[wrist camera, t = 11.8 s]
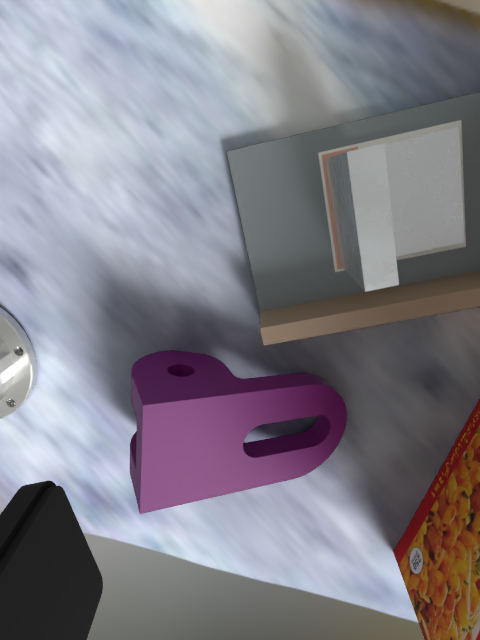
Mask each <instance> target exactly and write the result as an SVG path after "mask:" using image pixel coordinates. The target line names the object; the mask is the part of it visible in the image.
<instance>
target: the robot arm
mask: <svg viewBox="0 0 480 640" xmlns="http://www.w3.org/2000/svg"><path fill="white" fill-rule="evenodd" d="M36 377H37V363H36V356H35V353H34V350H33V347H32V344H31V342H30V340H29V338H28V337H27V335H26V333H25V331H24V330H23V329H22V328H21V326H20V325H19V324H18V323H17V321H16V320H15V319H14V318H13V317H12V316H10V315H9V314H8V313H7V312H6V311H5V310H3V309H2V308H0V419H1V418H4V417H6V416H8V415H10V414H12V413H13V412H14V411H15V410H16V409H18V408H19V407H20V406H21V405H22V404H23V403H24V402H25V401H26V400H27V399H28V397H29V396H30V394H31V392H32V390H33V388H34V385H35V382H36ZM102 588H103V582H102V576H101V574H100V571H99V569H98V566H97V564H96V562H95V560H94V557H93V555H92V553H91V551H90V549H89V546H88V544H87V541H86V539H85V537H84V535H83V532H82V530H81V528H80V526H79V523H78V521H77V519H76V516H75V514H74V512H73V510H72V507H71V505H70V503H69V501H68V498H67V496H66V494H65V491H64V490H63V488H62V487H60V486H56V485H55V483H53V482H52V481H45V482H39V483H34V484H29V485H25V486H22V487H21V488H20V489H19V490H18V491H17V493H16V494H15V495H14V497H13V498H12V500H11V501H10V502H9V504H8V505H7V506H6V508H5V509H4V511H3V512H2V513H1V515H0V640H86V639H87V637H88V634H89V631H90V628H91V625H92V622H93V619H94V615H95V612H96V609H97V606H98V603H99V601H100V598H101V594H102Z"/></svg>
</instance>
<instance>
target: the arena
mask: <svg viewBox="0 0 480 640" xmlns="http://www.w3.org/2000/svg"><path fill="white" fill-rule="evenodd" d="M455 127H459V140H460V160H461V180H462V200H463V221H464V241H465V242H464V243H460V244H455V245H450V246H445V247H440V248H436V249H431V250H426V251H421V252H416V253H411V254H407V255H402V256H397V257H396V260H397V270H398V280H399V285H396V286H391V287H386V288H381V289H376V290H371V291H366V292H365V291H364V290H363V289H362V288H361V287H360V286H359V285H358V284H357V282H356V281H355V280H354V279H353V278H352V277H351V276H350V275H349V274H348V273H347V272H346V271H345V270H344V269H343V268H342V267H341V266H340V260H339V254H338V247H337V240H336V234H335V227H334V220H333V213H332V207H331V200H330V193H329V186H328V180H327V173H326V166H325V159H326V158H329V157H332V156H335V155H339V154H342V153H345V152H349V151H353V150H357V149H361V148H366V147H370V146H374V145H378V144H382V143H384V144H388V143H392V142H397V141H401V140H405V139H409V138H413V137H417V136H422V135H426V134H430V133H434V132H438V131H442V130H447V129H451V128H455ZM227 155H228V160H229V165H230V170H231V175H232V179H233V184H234V189H235V194H236V199H237V203H238V208H239V213H240V218H241V223H242V228H243V232H244V237H245V242H246V247H247V252H248V256H249V261H250V266H251V271H252V276H253V281H254V285H255V290H256V295H257V300H258V305H259V309H260V331H261V335H262V340H263V345H264V346H265V345H270V344H276V343H281V342H287V341H292V340H298V339H304V338H309V337H315V336H320V335H326V334H332V333H337V332H343V331H348V330H354V329H359V328H365V327H371V326H376V325H382V324H387V323H393V322H398V321H404V320H410V319H415V318H421V317H426V316H432V315H438V314H443V313H449V312H454V311H460V310H465V309H471V308H477V307H480V92H477V93H473V94H469V95H464V96H460V97H456V98H452V99H447V100H443V101H439V102H435V103H430V104H426V105H422V106H418V107H413V108H409V109H405V110H401V111H396V112H392V113H388V114H384V115H379V116H375V117H371V118H367V119H362V120H358V121H354V122H350V123H345V124H341V125H337V126H333V127H328V128H324V129H320V130H316V131H311V132H307V133H303V134H299V135H294V136H290V137H286V138H282V139H277V140H273V141H269V142H265V143H260V144H256V145H252V146H248V147H243V148H239V149H235V150H231V151H227Z"/></svg>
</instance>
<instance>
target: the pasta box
mask: <svg viewBox="0 0 480 640" xmlns="http://www.w3.org/2000/svg"><path fill="white" fill-rule="evenodd" d="M394 555H395V558H396V561H397V563H398V566H399V569H400V572H401V575H402V577H403V580H404V583H405V586H406V588H407V591H408V594H409V597H410V600H411V602H412V605H413V608H414V611H415V613H416V616H417V619H418V622H419V625H420V627H421V630H422V633H423V636H424V639H425V640H480V399H479V401H478V403H477V405H476V406H475V408H474V410H473V412H472V414H471V415H470V417H469V419H468V421H467V422H466V424H465V426H464V428H463V429H462V431H461V433H460V435H459V437H458V438H457V440H456V442H455V444H454V445H453V447H452V449H451V451H450V453H449V454H448V456H447V458H446V460H445V461H444V463H443V465H442V467H441V469H440V470H439V472H438V474H437V476H436V477H435V479H434V481H433V483H432V484H431V486H430V488H429V490H428V492H427V493H426V495H425V497H424V499H423V500H422V502H421V504H420V506H419V508H418V509H417V511H416V513H415V515H414V516H413V518H412V520H411V522H410V524H409V525H408V527H407V529H406V531H405V532H404V534H403V536H402V538H401V540H400V541H399V543H398V545H397V547H396V548H395V550H394Z"/></svg>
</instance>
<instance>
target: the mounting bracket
mask: <svg viewBox="0 0 480 640" xmlns="http://www.w3.org/2000/svg"><path fill="white" fill-rule="evenodd" d="M131 401H132V404H133V408H134V411H135V414H136V417H137V432H136V433H135V434H134V435H133V437H132V439H131V443H130V475H131V479H132V483H133V487H134V491H135V495H136V500H137V504H138V508H139V512H140V514H142V513H147V512H151V511H155V510H160V509H164V508H168V507H173V506H177V505H182V504H186V503H190V502H195V501H199V500H203V499H208V498H212V497H216V496H221V495H225V494H230V493H234V492H238V491H243V490H247V489H251V488H256V487H260V486H264V485H269V484H273V483H278V482H282V481H286V480H291V479H295V478H298V477H301V476H303V475H305V474H307V473H309V472H311V471H313V470H314V469H316V468H317V467H318V466H320V465H321V464H322V463H323V462H324V461H325V460H326V459H327V458H328V457H329V456H330V455H331V454H332V452H333V451H334V450H335V448H336V447H337V445H338V444H339V442H340V440H341V438H342V435H343V433H344V430H345V426H346V419H347V413H346V407H345V404H344V401H343V399H342V398H341V396H340V395H339V394H338V393H337V392H336V391H335V390H334V389H332V388H331V387H330V386H329V385H328V384H326V383H325V382H324V381H323V380H322V379H320V378H319V377H317V376H315V375H312V374H307V373H294V374H285V375H276V376H267V377H257V378H248V379H241V378H237V377H235V376H234V375H233V374H232V373H231V372H230V370H229V369H228V368H227V367H226V366H225V365H224V364H223V363H222V362H221V361H219V360H218V359H216V358H214V357H211V356H209V355H206V354H200V353H192V352H183V351H174V350H172V351H162V352H157V353H153V354H149V355H147V356H144V357H142V358H141V359H139V360H138V361H137V362H135V364H134V365H133V367H132V374H131ZM313 416H318V417H317V420H316V422H315V423H314V425H313V426H312V427H311V428H310V429H309V430H307V431H305V432H303V433H298V434H293V435H287V436H281V437H276V438H270V439H265V440H259V441H253V442H248V443H243V442H244V439H245V437H246V436H247V434H248V433H249V432H250V431H251V430H252V429H254V428H255V427H257V426H259V425H263V424H269V423H275V422H281V421H288V420H294V419H300V418H306V417H313Z"/></svg>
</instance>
